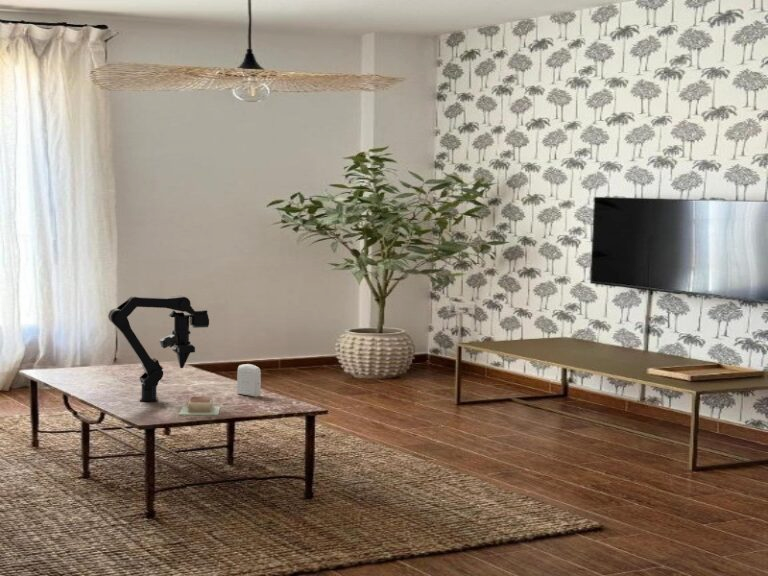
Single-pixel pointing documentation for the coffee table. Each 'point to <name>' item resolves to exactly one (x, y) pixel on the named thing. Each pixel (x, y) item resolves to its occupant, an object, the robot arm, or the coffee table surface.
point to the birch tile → (200, 404)
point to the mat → (185, 412)
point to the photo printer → (249, 380)
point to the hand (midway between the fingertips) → (181, 368)
